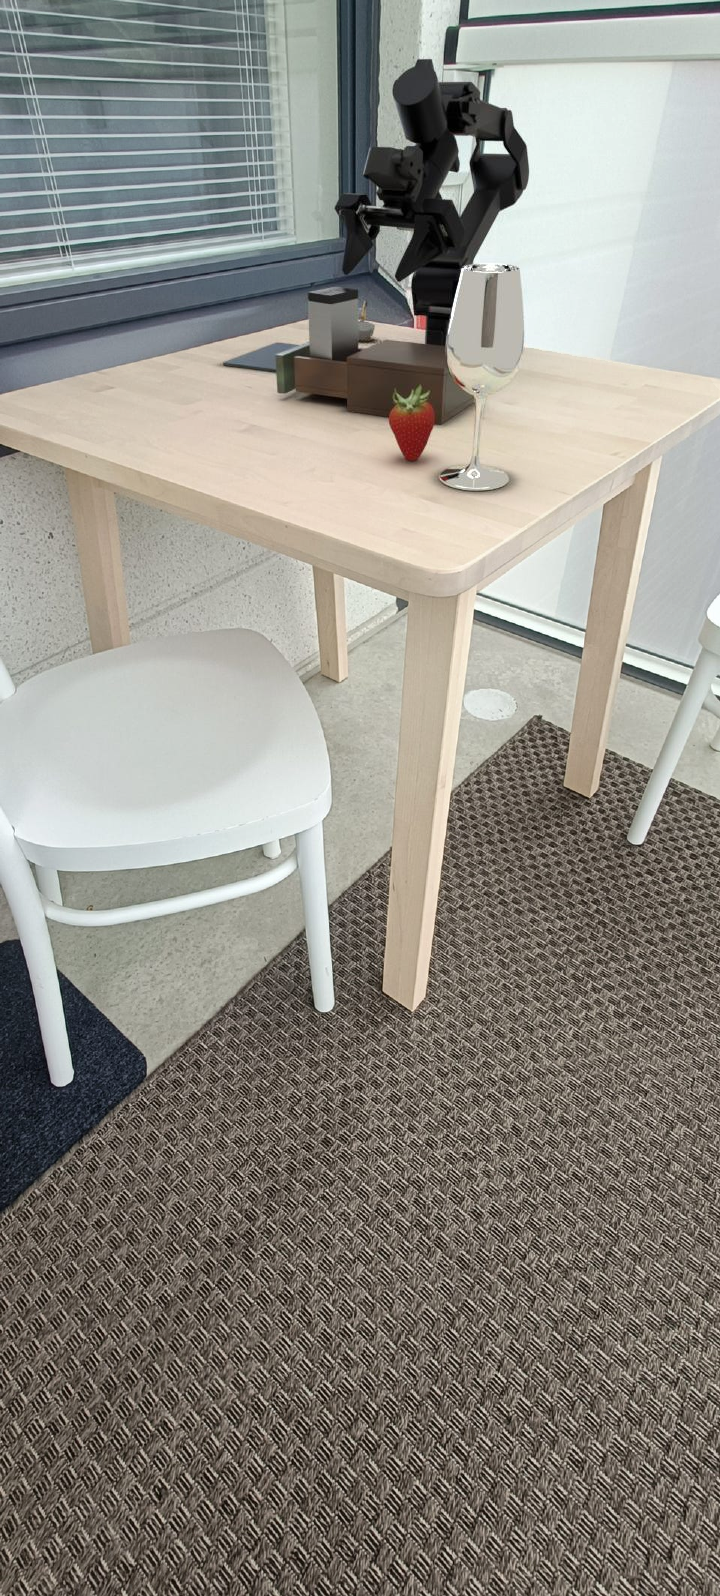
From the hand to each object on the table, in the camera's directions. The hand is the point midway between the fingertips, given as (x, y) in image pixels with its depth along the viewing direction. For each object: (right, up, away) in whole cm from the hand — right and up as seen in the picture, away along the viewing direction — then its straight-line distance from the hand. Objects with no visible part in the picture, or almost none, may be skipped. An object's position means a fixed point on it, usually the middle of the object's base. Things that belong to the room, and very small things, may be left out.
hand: (370, 276), depth 117 cm
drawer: (-5, -13, +4) cm, 15 cm away
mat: (-13, 0, +22) cm, 25 cm away
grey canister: (-5, -13, +3) cm, 14 cm away
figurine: (-1, +9, +33) cm, 34 cm away
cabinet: (+6, -17, +1) cm, 18 cm away
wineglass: (+11, -36, -22) cm, 43 cm away
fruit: (+5, -31, -16) cm, 36 cm away
